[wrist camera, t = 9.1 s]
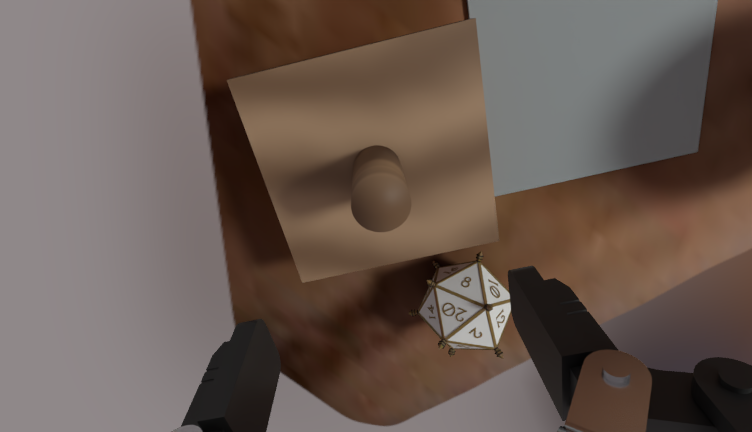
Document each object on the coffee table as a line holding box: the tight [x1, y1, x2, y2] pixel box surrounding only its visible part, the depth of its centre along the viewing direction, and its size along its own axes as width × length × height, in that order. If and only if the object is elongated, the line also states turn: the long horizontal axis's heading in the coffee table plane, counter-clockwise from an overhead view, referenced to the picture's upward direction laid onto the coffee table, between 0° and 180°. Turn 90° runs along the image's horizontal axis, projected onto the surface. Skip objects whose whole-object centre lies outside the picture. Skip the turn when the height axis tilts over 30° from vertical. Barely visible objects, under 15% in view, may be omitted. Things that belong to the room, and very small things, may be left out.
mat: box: [467, 0, 718, 196], centre depth 29 cm, size 17×17×1 cm
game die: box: [408, 251, 511, 359], centre depth 34 cm, size 9×8×10 cm
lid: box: [227, 18, 499, 283], centre depth 24 cm, size 15×15×7 cm
